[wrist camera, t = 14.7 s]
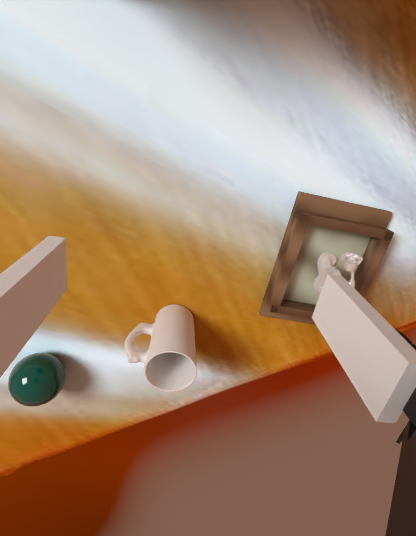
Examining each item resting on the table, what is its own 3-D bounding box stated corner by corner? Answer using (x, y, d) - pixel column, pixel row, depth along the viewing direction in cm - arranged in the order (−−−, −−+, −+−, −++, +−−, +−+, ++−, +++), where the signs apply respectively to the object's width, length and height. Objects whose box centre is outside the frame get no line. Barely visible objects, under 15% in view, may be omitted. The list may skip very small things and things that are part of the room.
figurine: (310, 297, 49) (345, 344, 38) (304, 243, 45) (341, 278, 34) (340, 290, 49) (384, 336, 38) (337, 236, 45) (384, 269, 34)
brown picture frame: (298, 191, 43) (307, 196, 40) (388, 211, 45) (403, 217, 42) (259, 312, 51) (264, 324, 48) (337, 324, 53) (347, 337, 50)
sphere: (55, 386, 55) (34, 426, 48) (14, 363, 52) (-14, 400, 45) (82, 360, 53) (65, 396, 46) (41, 334, 50) (15, 368, 43)
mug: (199, 306, 50) (202, 355, 39) (190, 340, 52) (190, 395, 41) (137, 295, 48) (121, 342, 37) (130, 330, 51) (114, 384, 40)
